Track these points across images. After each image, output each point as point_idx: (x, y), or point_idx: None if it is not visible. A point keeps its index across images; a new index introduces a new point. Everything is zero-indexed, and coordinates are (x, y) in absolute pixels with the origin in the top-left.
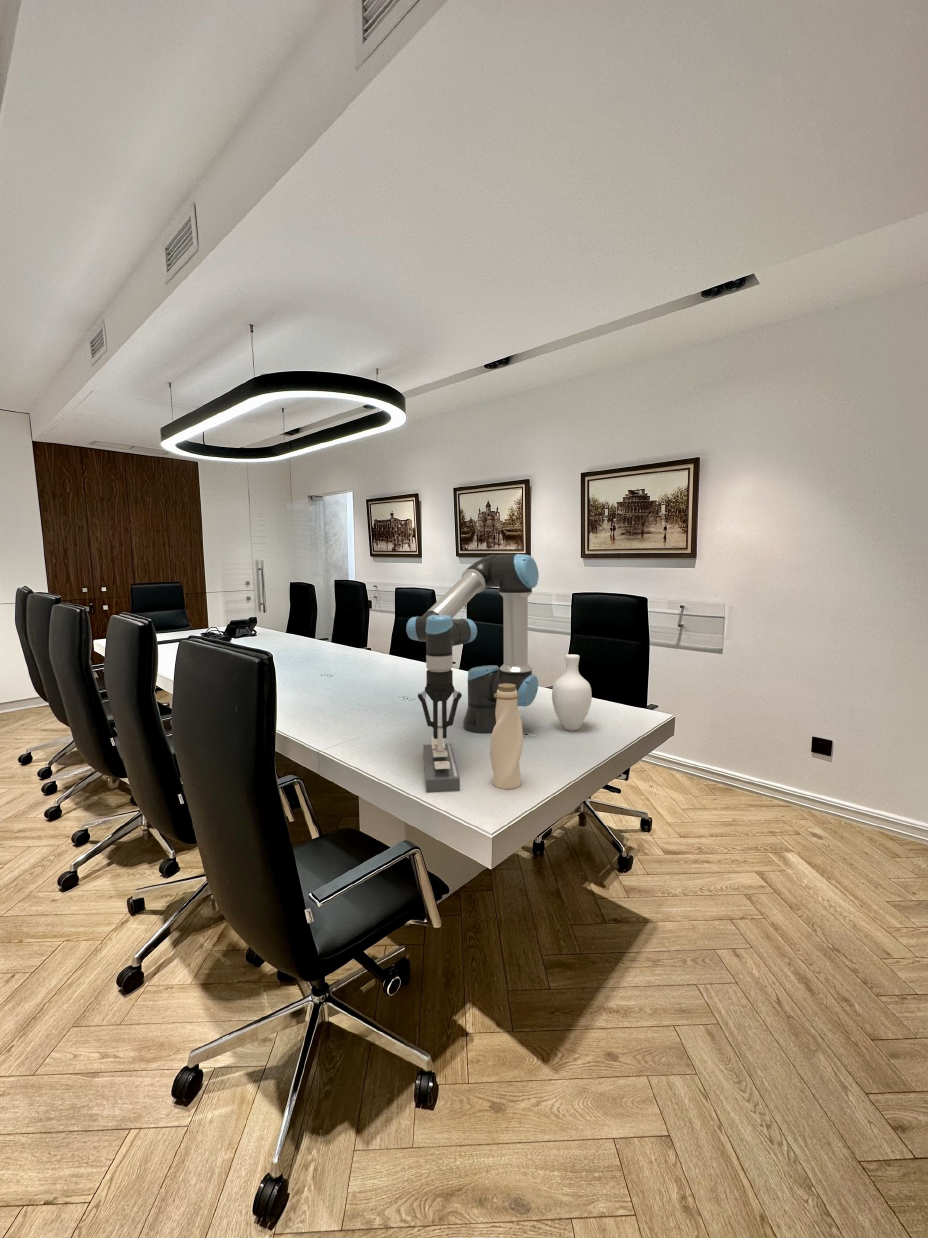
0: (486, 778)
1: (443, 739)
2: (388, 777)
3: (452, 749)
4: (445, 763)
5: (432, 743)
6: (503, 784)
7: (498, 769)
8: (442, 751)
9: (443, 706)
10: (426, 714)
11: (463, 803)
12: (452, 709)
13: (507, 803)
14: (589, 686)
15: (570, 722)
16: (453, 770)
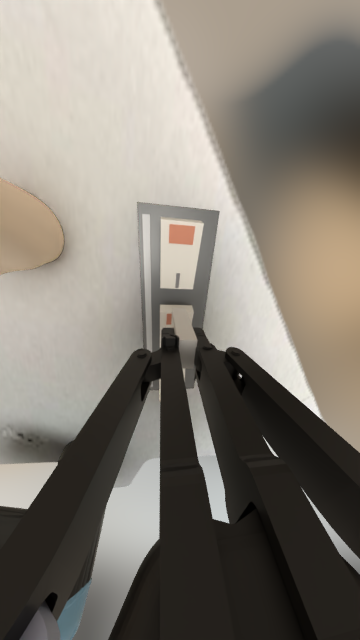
0: (81, 268)
1: (160, 386)
2: (258, 301)
3: None
4: (174, 220)
5: (183, 374)
6: (23, 190)
7: (9, 197)
8: (171, 314)
9: (187, 451)
10: (276, 389)
11: (135, 121)
12: (114, 426)
13: (7, 77)
14: None
15: None
16: (149, 257)
